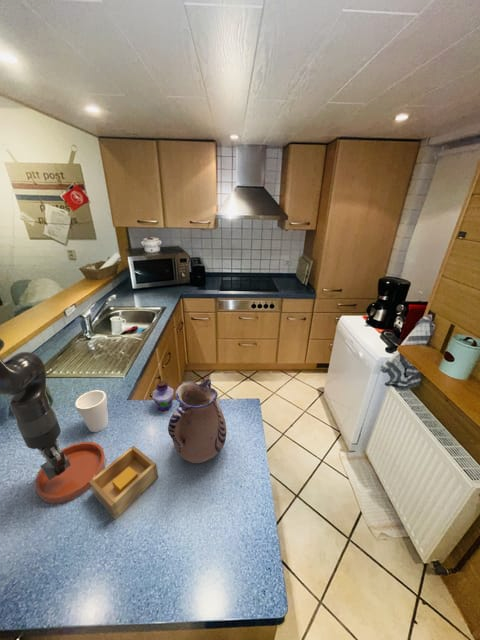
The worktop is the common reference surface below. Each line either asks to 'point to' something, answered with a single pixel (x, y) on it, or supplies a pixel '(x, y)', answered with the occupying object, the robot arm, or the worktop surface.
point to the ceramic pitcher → (197, 422)
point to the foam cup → (93, 410)
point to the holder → (121, 501)
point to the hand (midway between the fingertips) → (57, 468)
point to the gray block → (49, 470)
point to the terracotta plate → (72, 473)
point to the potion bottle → (163, 396)
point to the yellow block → (124, 479)
